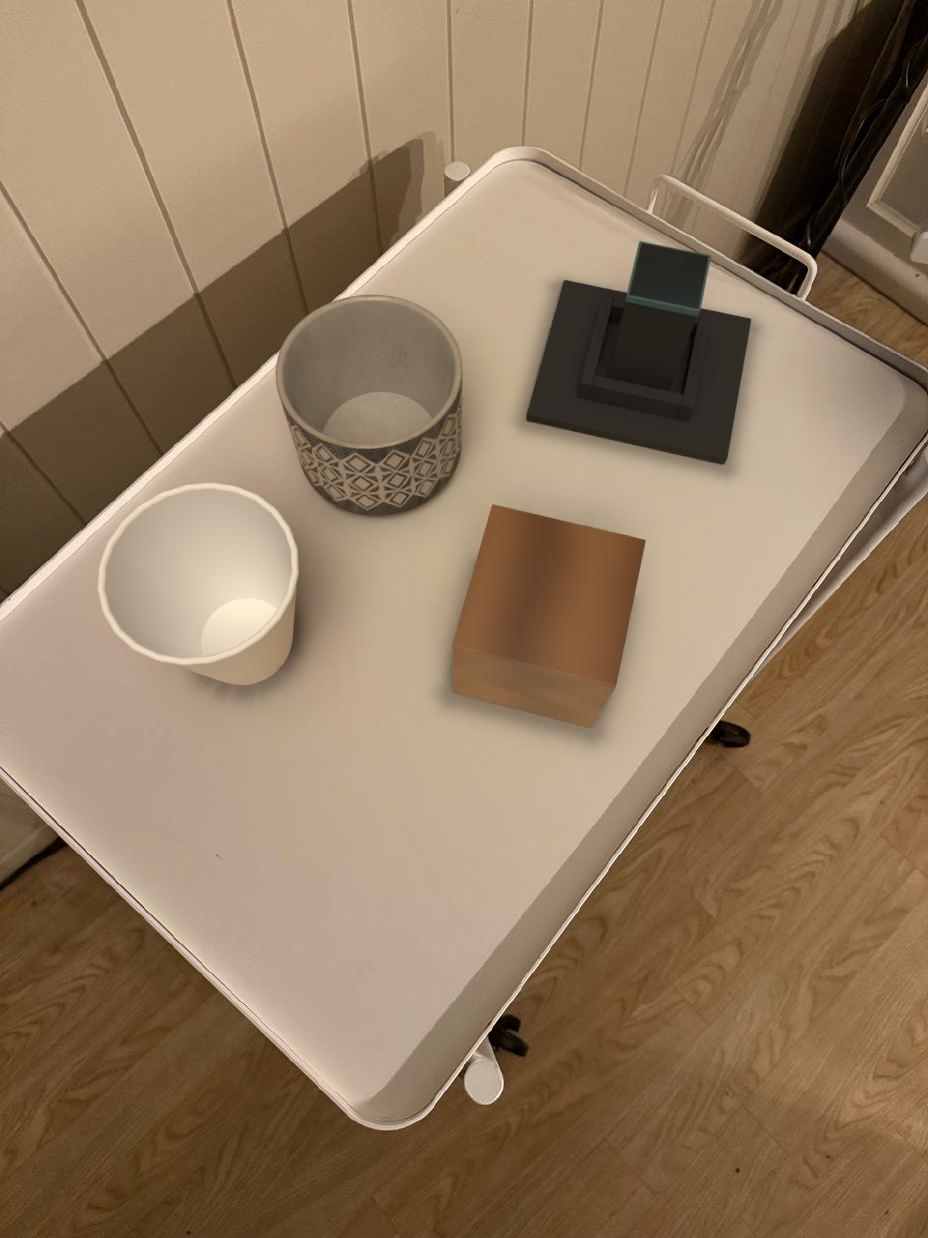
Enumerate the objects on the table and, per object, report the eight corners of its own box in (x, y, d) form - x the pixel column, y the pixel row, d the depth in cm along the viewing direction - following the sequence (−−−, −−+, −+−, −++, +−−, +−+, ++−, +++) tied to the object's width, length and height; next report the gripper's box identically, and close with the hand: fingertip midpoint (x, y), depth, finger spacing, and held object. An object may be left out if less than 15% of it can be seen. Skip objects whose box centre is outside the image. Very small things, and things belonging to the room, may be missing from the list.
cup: (292, 741, 60) (253, 689, 49) (135, 692, 61) (60, 630, 50) (350, 590, 64) (327, 509, 53) (202, 547, 66) (147, 459, 54)
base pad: (748, 326, 73) (759, 301, 71) (723, 465, 68) (735, 444, 66) (562, 287, 75) (566, 261, 72) (525, 420, 70) (528, 398, 67)
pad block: (678, 346, 71) (711, 254, 62) (667, 398, 70) (700, 311, 60) (615, 333, 72) (639, 240, 62) (603, 384, 70) (626, 296, 61)
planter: (488, 484, 68) (494, 404, 58) (339, 548, 66) (318, 476, 56) (420, 363, 72) (414, 270, 62) (276, 420, 70) (247, 332, 60)
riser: (618, 600, 64) (646, 539, 55) (591, 728, 61) (615, 686, 51) (487, 568, 65) (492, 503, 56) (453, 693, 61) (452, 646, 52)
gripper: (1205, 46, 50) (959, 4, 51) (1226, 326, 42) (938, 269, 44) (1126, 143, 56) (907, 103, 57) (1133, 403, 48) (881, 351, 49)
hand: (920, 177), depth 50 cm, fingers open, 8 cm apart
